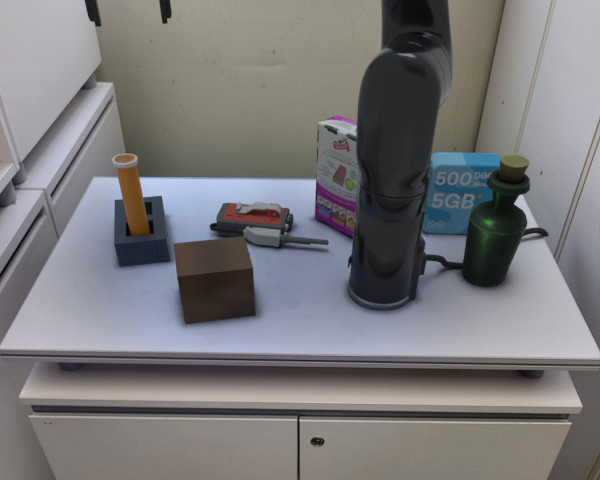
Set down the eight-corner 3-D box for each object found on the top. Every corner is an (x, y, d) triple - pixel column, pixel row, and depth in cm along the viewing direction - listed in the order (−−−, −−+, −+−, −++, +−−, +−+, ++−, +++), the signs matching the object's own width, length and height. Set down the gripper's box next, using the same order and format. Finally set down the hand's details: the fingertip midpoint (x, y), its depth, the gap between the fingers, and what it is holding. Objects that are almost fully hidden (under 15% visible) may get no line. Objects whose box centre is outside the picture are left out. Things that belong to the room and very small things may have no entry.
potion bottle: (493, 257, 94) (526, 144, 81) (519, 286, 89) (558, 171, 76) (447, 264, 93) (472, 150, 80) (470, 294, 88) (502, 178, 74)
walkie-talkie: (206, 242, 97) (327, 254, 95) (203, 217, 93) (328, 229, 91) (220, 215, 103) (333, 225, 100) (217, 191, 99) (335, 201, 97)
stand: (247, 282, 89) (244, 235, 83) (255, 315, 84) (253, 267, 78) (181, 290, 88) (173, 243, 82) (185, 324, 82) (176, 276, 76)
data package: (420, 233, 99) (432, 164, 90) (417, 219, 102) (429, 151, 93) (491, 235, 99) (511, 165, 90) (486, 221, 102) (505, 153, 93)
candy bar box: (380, 233, 99) (393, 134, 87) (360, 244, 97) (370, 144, 85) (333, 208, 104) (338, 112, 93) (313, 218, 102) (316, 121, 90)
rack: (165, 217, 102) (161, 195, 99) (170, 261, 93) (166, 238, 90) (119, 221, 101) (114, 199, 98) (119, 266, 92) (114, 244, 89)
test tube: (154, 243, 96) (137, 152, 85) (155, 255, 94) (137, 163, 83) (132, 245, 96) (111, 154, 85) (132, 257, 93) (111, 165, 82)
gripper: (33, -140, 62) (75, 35, 74) (169, -141, 64) (188, 29, 76) (40, -146, 67) (77, 18, 79) (166, -147, 69) (184, 13, 81)
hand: (132, 23), depth 78 cm, fingers open, 8 cm apart
